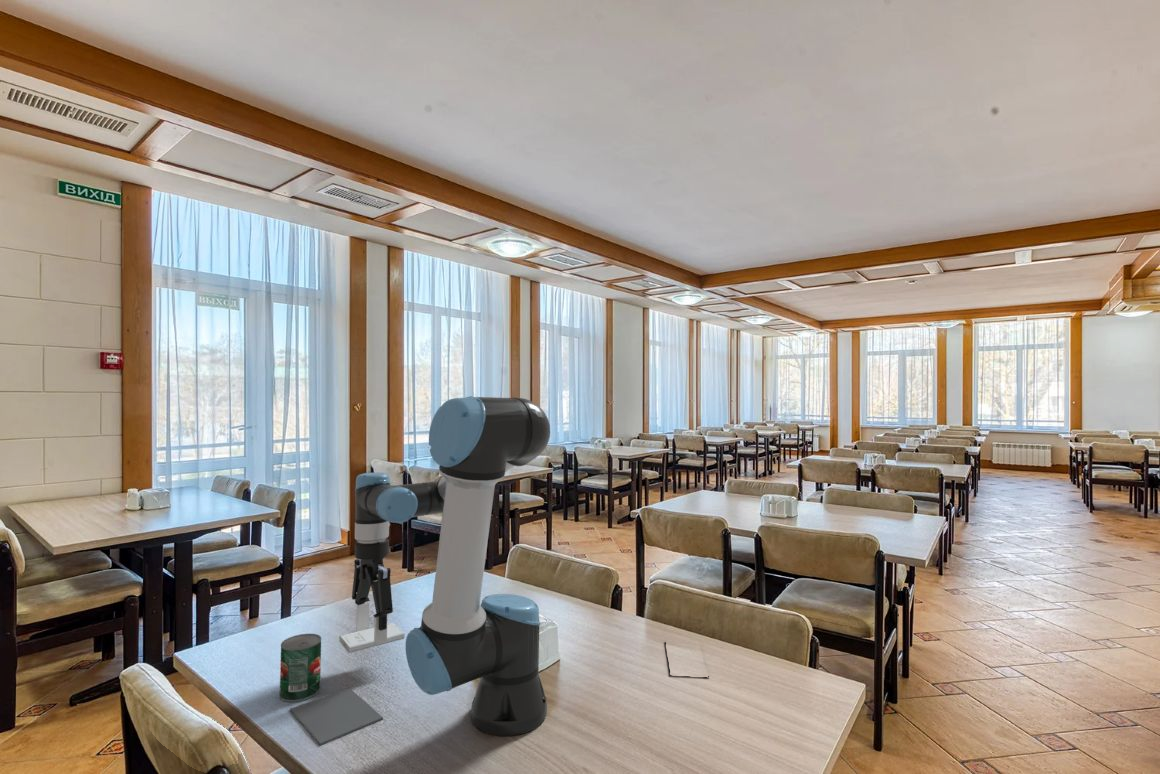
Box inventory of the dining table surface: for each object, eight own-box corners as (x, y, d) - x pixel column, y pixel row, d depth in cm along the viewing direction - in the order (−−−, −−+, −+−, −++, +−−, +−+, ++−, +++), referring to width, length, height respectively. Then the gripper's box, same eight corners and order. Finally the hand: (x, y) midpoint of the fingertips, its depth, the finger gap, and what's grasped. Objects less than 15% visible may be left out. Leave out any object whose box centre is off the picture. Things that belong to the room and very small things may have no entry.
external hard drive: (404, 639, 131) (349, 653, 124) (392, 628, 138) (339, 641, 130) (404, 632, 131) (349, 646, 124) (392, 622, 138) (339, 634, 130)
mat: (382, 719, 111) (382, 717, 111) (320, 745, 102) (320, 743, 102) (348, 689, 122) (348, 687, 122) (290, 710, 114) (290, 708, 114)
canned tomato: (274, 691, 121) (275, 640, 121) (312, 679, 126) (313, 630, 127) (286, 706, 115) (287, 652, 115) (326, 692, 121) (327, 641, 121)
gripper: (409, 544, 126) (408, 646, 126) (367, 530, 142) (366, 620, 141) (377, 550, 121) (376, 656, 120) (337, 534, 136) (336, 629, 135)
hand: (371, 637), depth 131 cm, fingers closed on external hard drive, 9 cm apart
